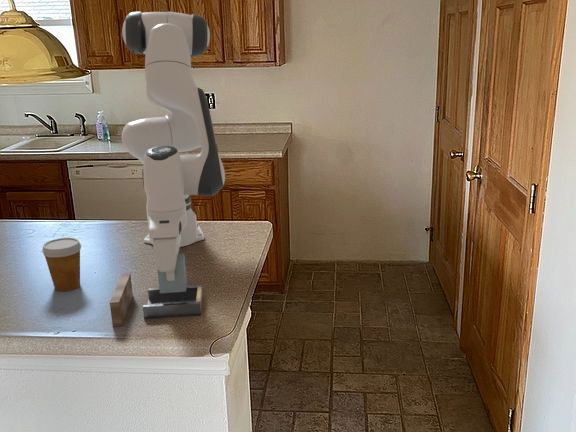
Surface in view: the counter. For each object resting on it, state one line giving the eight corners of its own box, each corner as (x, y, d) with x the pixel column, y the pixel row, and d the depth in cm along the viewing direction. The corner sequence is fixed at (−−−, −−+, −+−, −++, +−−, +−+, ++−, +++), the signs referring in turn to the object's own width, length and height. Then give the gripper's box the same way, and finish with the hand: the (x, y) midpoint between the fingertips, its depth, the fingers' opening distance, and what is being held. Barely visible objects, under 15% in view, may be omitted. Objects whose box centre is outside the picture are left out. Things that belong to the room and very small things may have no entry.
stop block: (161, 286, 138) (158, 255, 135) (186, 284, 138) (184, 253, 136) (159, 293, 134) (156, 261, 131) (185, 291, 134) (183, 259, 132)
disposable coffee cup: (89, 277, 155) (83, 235, 152) (83, 292, 146) (77, 248, 143) (52, 280, 154) (45, 238, 150) (44, 295, 145) (36, 251, 141)
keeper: (149, 299, 142) (148, 288, 141) (202, 296, 143) (201, 285, 142) (144, 318, 132) (142, 306, 131) (200, 315, 133) (200, 303, 132)
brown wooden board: (124, 295, 144) (122, 273, 142) (132, 295, 144) (130, 273, 142) (112, 326, 129) (109, 302, 127) (121, 326, 129) (118, 302, 127)
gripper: (158, 206, 140) (163, 259, 144) (147, 234, 121) (153, 293, 125) (184, 205, 141) (188, 257, 145) (177, 232, 121) (182, 292, 126)
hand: (172, 274), depth 135 cm, fingers closed on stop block, 4 cm apart
